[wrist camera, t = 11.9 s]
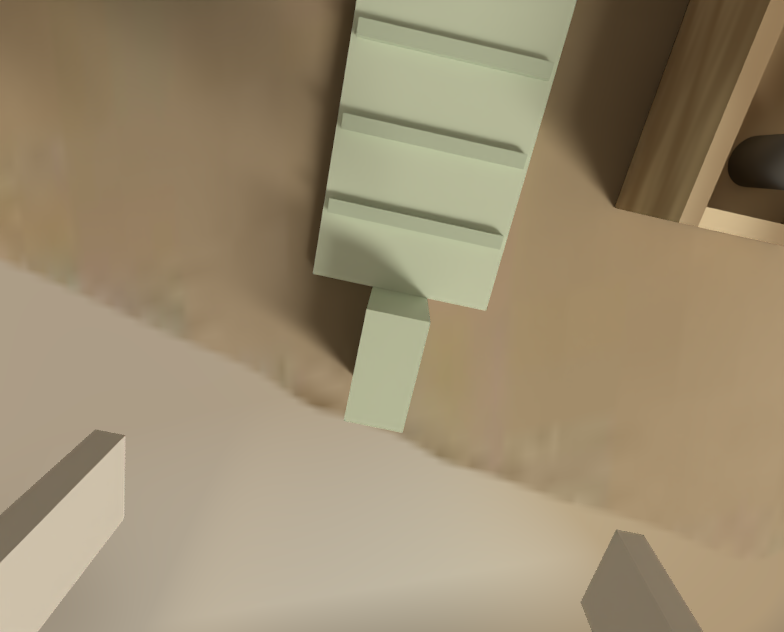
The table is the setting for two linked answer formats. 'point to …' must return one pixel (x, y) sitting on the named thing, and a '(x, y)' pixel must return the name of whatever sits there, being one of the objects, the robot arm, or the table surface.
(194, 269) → the table surface
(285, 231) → the table surface
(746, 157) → the rubber stopper
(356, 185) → the ridged block with tab
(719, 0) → the tub
